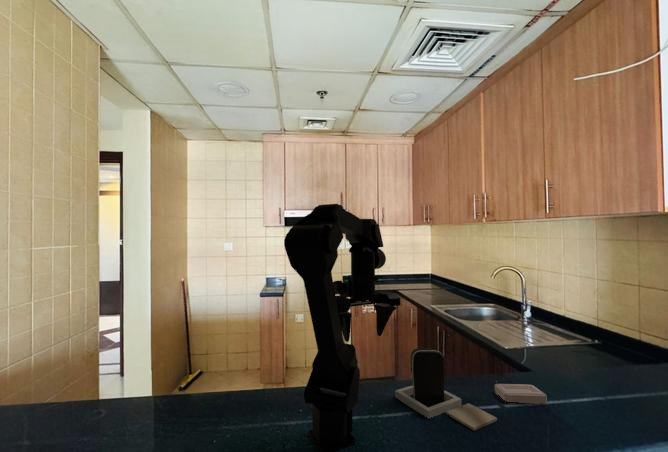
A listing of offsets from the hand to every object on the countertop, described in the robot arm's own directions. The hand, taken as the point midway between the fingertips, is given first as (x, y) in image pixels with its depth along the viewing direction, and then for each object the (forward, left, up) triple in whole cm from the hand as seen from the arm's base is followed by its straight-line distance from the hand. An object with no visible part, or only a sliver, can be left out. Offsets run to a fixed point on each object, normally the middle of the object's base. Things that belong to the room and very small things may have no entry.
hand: (363, 338), depth 70 cm
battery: (+11, -9, -13) cm, 19 cm away
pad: (+14, -18, -13) cm, 26 cm away
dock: (+11, -9, -13) cm, 19 cm away
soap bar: (+31, -18, -14) cm, 38 cm away
